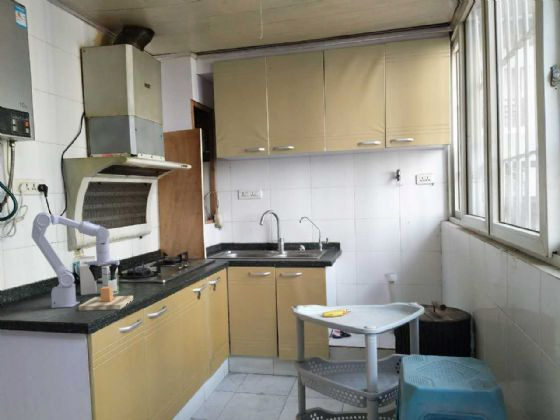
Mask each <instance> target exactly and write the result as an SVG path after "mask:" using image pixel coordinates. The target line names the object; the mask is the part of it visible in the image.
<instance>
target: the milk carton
mask: <svg viewBox="0 0 560 420" xmlns="http://www.w3.org/2000/svg"><path fill="white" fill-rule="evenodd" d="M95 257H96V256H94V255H90V256H79V278H80V279H79V282H80V283H79V284H80V295H81V296H84V295H94V294H95V295H96V294H97V281H95V280H94V277H93V275H92V273H91V271H90V270H89V267H90V266H87V262H89V261H96V258H95Z"/></svg>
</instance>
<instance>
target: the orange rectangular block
mask: <svg viewBox="0 0 560 420" xmlns="http://www.w3.org/2000/svg"><path fill="white" fill-rule="evenodd" d="M113 296H114V295H113V286H111V287H103V286H102V287H101V288H100V297H101V302H112V301H113Z"/></svg>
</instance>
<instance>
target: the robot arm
mask: <svg viewBox="0 0 560 420" xmlns="http://www.w3.org/2000/svg"><path fill="white" fill-rule="evenodd" d="M51 224H52V226H53V225H63V226H66V227H69V228H73V229H76V230H78V232H79V233H80V234H82V235H86V236H90V237H94V238H95V241H96V242H95V251H96V252H95V253H96V254H95V255H96V256H95V257H96V260H95V261H89V262H87V266H90V267H89V270H90V271H91V273H92V275H93V277H94V280H95V281H96V282H97V281H99V280H98V279H99V275H98V274H99V273H98V271H99V266H109V265H111V266H109V269H110V279H111V280H114V275H115V272H116V269H117V267H118V268H119V265H120V260H118V259H117V260H113V259H112V260H111V258H110V242H109V237H110V231H109V229H107V227H104V226H102V225H101V224H95V223H92V222H90V220H86V221H85V220H83V221H81V222H79V221H76V220H73V219H70V218H68V217H64V216H61V215H58V214H52V213H47V212H40V213H38V214H36V216H35V217H34V218H33V221H32V228H31V238H32V240H33V242H34V243H35V244H36V246H37V248H38V249H39V250H40V251H41V254H42V255H43V256H44V258H45V259H46V261H47V262H48V264H49V265H50V267H51V268H52V270H53V271H54V273H55V275H56V276H57V280H58V283H59V284H58V285H57V286H54V287H52V289H51V293H50V294H51V295H50V296H51V306H50V308H52V309H54V308H55V309H56V308H72V307H75V306H77V305H79V304H80V303H81V302H80V301H77V294H76V283H74V282H75V277H74V274H73V272H72V271H70V270H69V269H67V267H66V266H65V264H64V263H63V262H62V260H61V258H60V257H59V256H58V254H57V253H56V251H55V250H54V248H53V247H52V245H51V244H50V242H49V240H48V238H47V237H46V236H45V233H46V231H47V229H48V227H49V226H50V225H51Z"/></svg>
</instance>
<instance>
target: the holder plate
mask: <svg viewBox="0 0 560 420" xmlns="http://www.w3.org/2000/svg"><path fill="white" fill-rule="evenodd" d="M133 300H134V295H116V296H114V295H113V301H112V302H101V296H94V297H93V298H92V297H91V299H89V300H87V301H85V302H84V303H82V304H80V305H78V312H82V311H85V312H86V311H104V310H106V311H107V310H108V311H109V310H121V309H123V308H124V307H126V306H127V305H128V304H130V303H131V302H133ZM130 301H131V302H130ZM127 303H128V304H127ZM126 304H127V305H126Z"/></svg>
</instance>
